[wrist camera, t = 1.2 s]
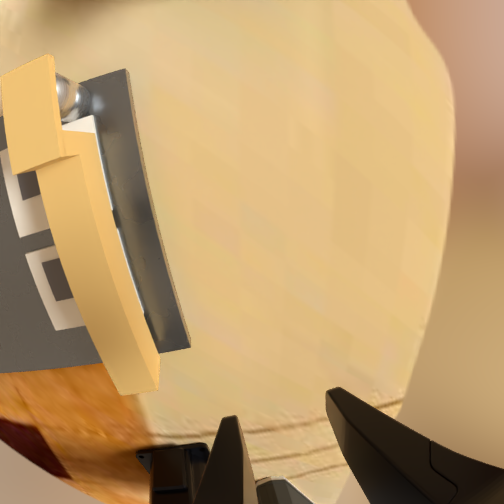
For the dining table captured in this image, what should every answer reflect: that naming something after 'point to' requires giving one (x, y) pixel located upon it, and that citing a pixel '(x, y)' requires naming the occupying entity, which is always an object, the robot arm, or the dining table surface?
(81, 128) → the label tile
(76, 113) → the pivot post
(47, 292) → the label tile
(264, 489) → the camera
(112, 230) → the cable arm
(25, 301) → the chassis plate
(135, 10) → the dining table surface
